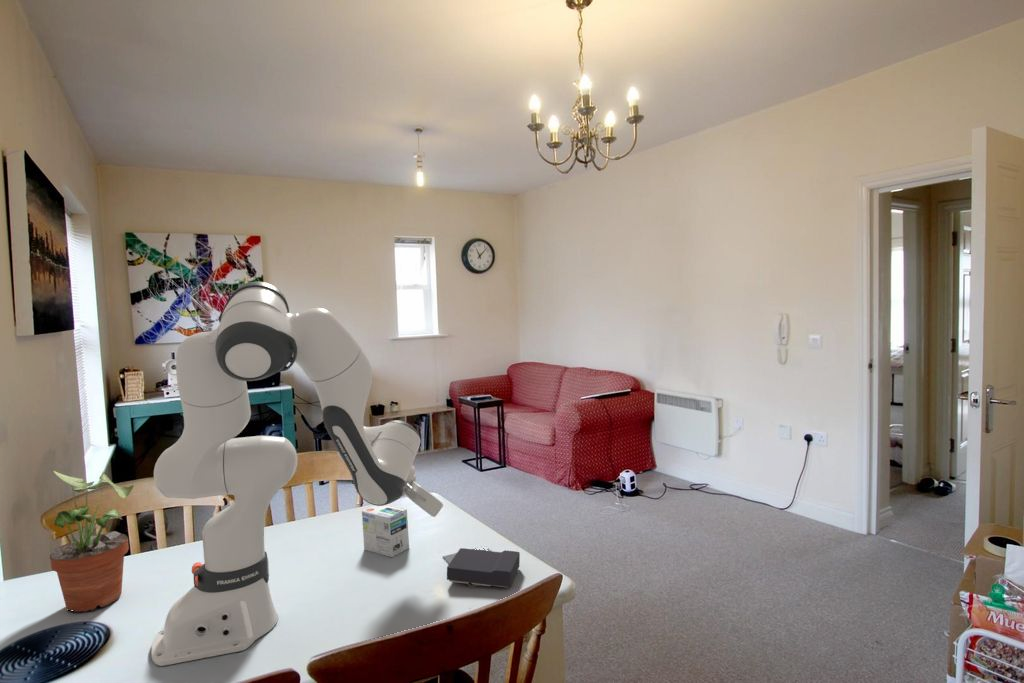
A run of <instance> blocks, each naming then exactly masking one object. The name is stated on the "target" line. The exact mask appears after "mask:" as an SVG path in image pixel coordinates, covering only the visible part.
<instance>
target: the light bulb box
mask: <svg viewBox="0 0 1024 683" xmlns="http://www.w3.org/2000/svg"><path fill="white" fill-rule="evenodd" d="M361 521H362V533H363V534H362V535H363V537H362V538H363V549H364V550H365V551H368V552H372V553H376V554H379V555H383V556H386V557H389V558H394V557H395V556H397V555H399V554H401V553H402V552H405V551H406V550H408V549H410V538H409V527H408V526H409V523H408V509H406V508H401V507H400V508H399V507H395V506H394V507H393V506H392V505H391V506H390V505H383V506H376V505H372V506H371V507H369V508H366V509H363V510H362V511H361Z"/></svg>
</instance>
